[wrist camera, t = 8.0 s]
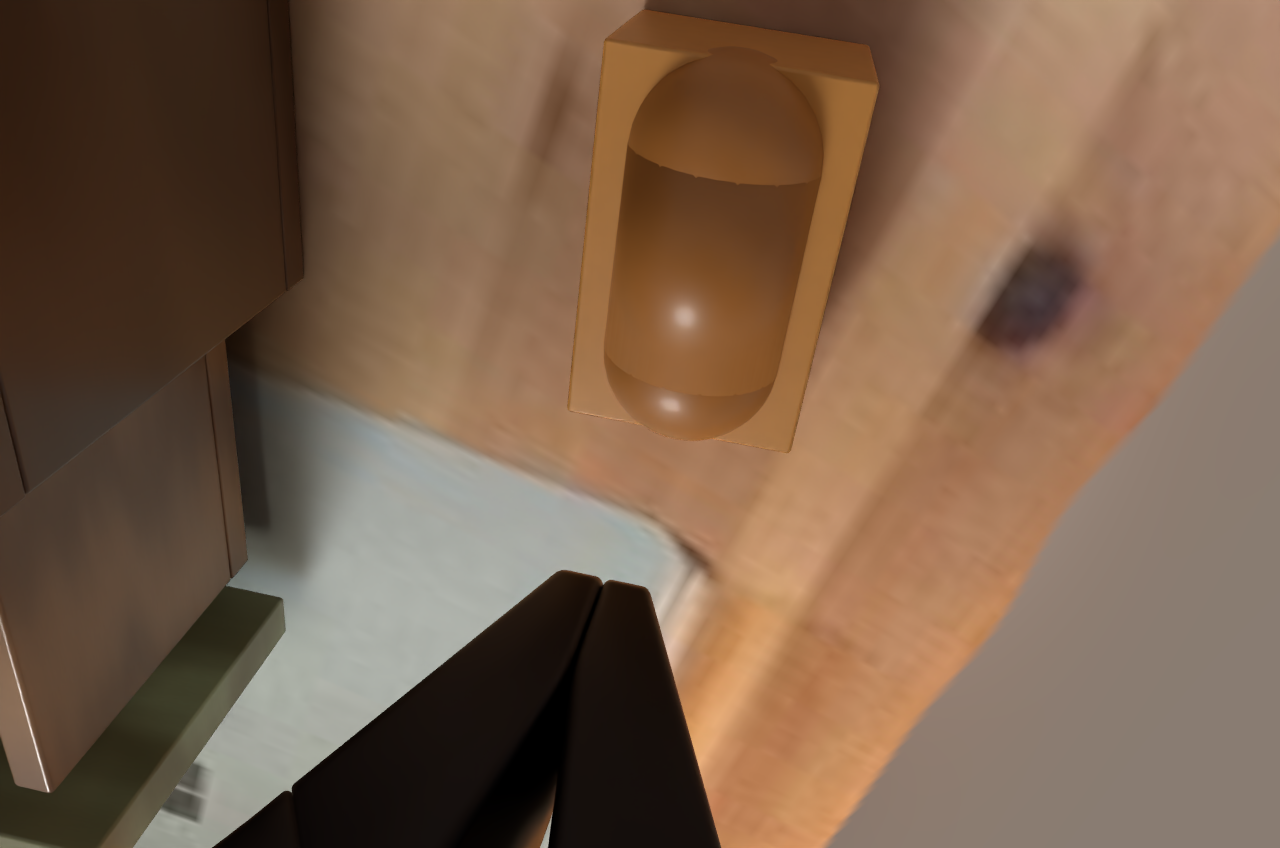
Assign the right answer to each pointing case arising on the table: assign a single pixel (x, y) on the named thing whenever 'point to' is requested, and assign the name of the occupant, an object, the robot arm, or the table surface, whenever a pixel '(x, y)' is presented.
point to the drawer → (125, 620)
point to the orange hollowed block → (715, 224)
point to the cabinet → (133, 206)
